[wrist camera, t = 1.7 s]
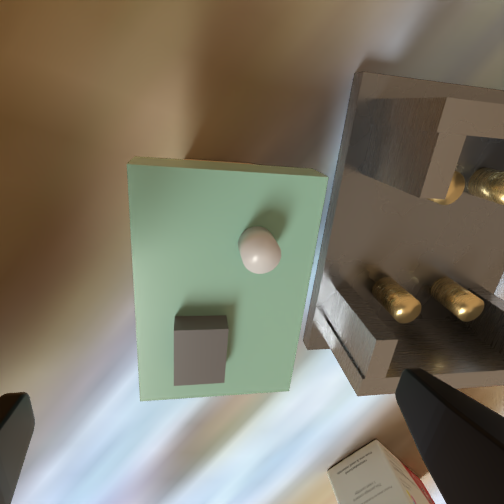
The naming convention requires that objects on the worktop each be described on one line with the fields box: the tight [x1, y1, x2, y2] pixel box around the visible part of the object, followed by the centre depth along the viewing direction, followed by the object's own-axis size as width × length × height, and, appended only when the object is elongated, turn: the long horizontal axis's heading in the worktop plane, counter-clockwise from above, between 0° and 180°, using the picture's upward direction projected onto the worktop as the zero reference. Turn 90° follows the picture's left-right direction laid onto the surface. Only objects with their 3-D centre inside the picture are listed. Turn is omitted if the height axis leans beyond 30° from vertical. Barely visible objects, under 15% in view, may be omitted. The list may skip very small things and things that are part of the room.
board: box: [127, 156, 329, 401], centre depth 12 cm, size 9×6×2 cm, turn 175°
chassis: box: [303, 72, 504, 396], centre depth 16 cm, size 14×11×5 cm
